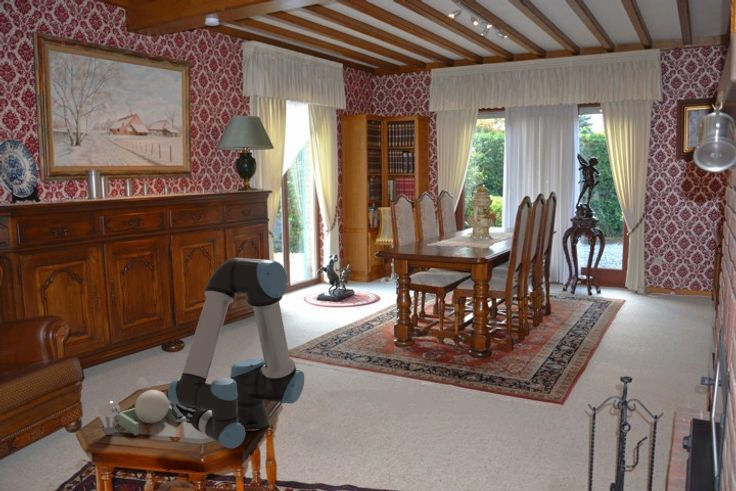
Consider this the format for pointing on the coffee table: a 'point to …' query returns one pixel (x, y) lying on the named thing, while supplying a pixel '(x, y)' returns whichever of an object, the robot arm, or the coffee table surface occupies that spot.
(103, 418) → the light bulb
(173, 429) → the coffee table surface
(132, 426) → the green u-shaped channel
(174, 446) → the coffee table surface
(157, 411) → the ball
